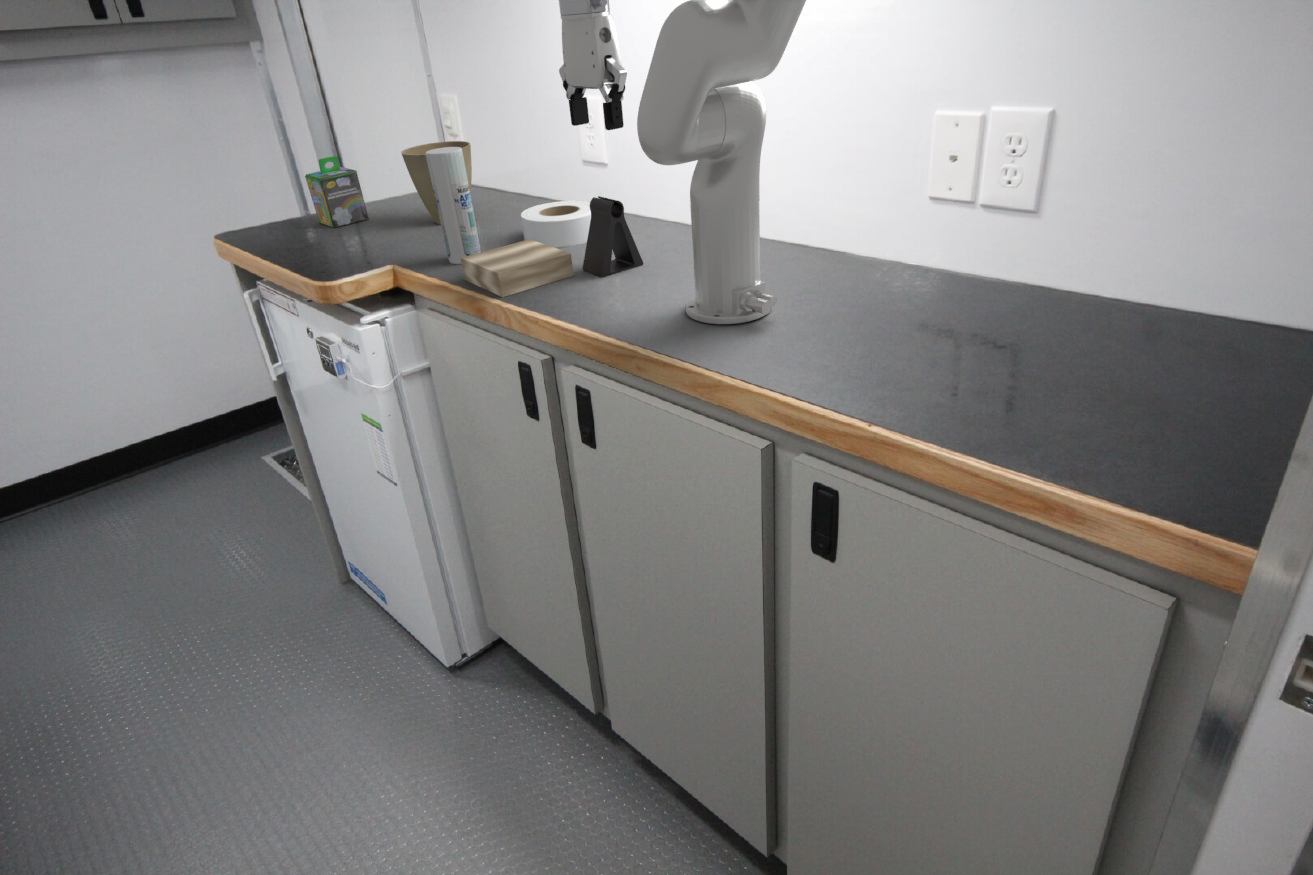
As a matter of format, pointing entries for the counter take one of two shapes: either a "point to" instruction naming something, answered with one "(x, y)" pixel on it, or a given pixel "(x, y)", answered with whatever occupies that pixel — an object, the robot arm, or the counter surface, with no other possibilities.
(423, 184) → the plant pot
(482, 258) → the birch base
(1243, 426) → the counter surface
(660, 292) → the counter surface
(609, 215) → the black triangular stand
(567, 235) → the roll of tape
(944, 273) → the counter surface
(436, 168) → the spray can
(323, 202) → the chalk box
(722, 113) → the robot arm
